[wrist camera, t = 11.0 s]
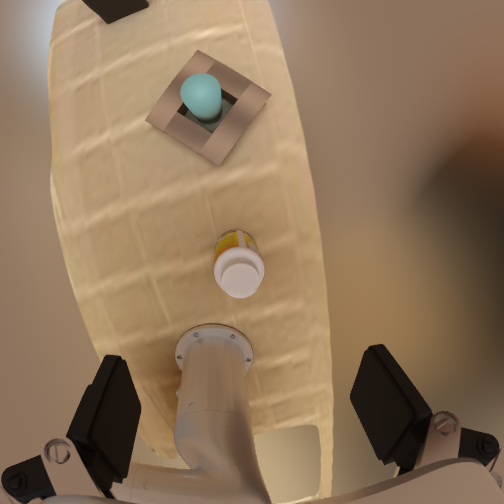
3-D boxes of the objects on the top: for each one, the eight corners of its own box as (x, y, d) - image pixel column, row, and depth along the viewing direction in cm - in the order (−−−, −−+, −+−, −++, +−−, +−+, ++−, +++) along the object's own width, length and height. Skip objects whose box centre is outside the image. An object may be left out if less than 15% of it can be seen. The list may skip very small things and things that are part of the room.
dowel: (203, 129, 32) (192, 117, 21) (190, 108, 31) (173, 86, 20) (227, 115, 32) (228, 96, 21) (213, 94, 31) (208, 66, 20)
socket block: (219, 165, 34) (218, 166, 29) (155, 124, 31) (144, 120, 27) (265, 102, 32) (271, 94, 27) (200, 63, 29) (197, 49, 24)
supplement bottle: (211, 263, 38) (207, 299, 29) (220, 224, 37) (219, 249, 27) (250, 272, 39) (259, 309, 30) (261, 234, 38) (274, 262, 28)
